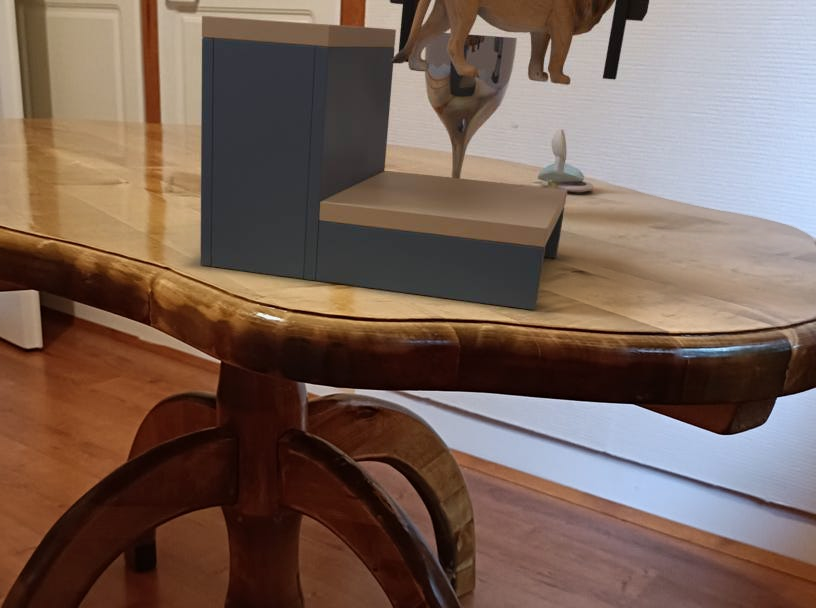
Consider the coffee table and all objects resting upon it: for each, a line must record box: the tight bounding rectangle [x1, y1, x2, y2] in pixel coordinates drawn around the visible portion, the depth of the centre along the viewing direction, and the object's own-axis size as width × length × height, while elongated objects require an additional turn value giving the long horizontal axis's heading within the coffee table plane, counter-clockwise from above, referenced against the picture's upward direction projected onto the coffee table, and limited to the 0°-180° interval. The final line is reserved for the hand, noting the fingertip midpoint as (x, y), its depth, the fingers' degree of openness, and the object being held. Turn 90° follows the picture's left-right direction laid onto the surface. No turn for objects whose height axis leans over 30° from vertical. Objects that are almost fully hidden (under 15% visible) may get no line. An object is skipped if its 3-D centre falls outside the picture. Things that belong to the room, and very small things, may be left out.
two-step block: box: [200, 15, 568, 311], centre depth 65 cm, size 22×17×15 cm
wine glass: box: [424, 32, 518, 179], centre depth 87 cm, size 8×8×15 cm
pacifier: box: [537, 129, 594, 193], centre depth 105 cm, size 7×6×6 cm
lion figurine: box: [390, 0, 616, 86], centre depth 59 cm, size 15×5×9 cm, turn 105°
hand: (506, 70), depth 61 cm, fingers closed on lion figurine, 12 cm apart
